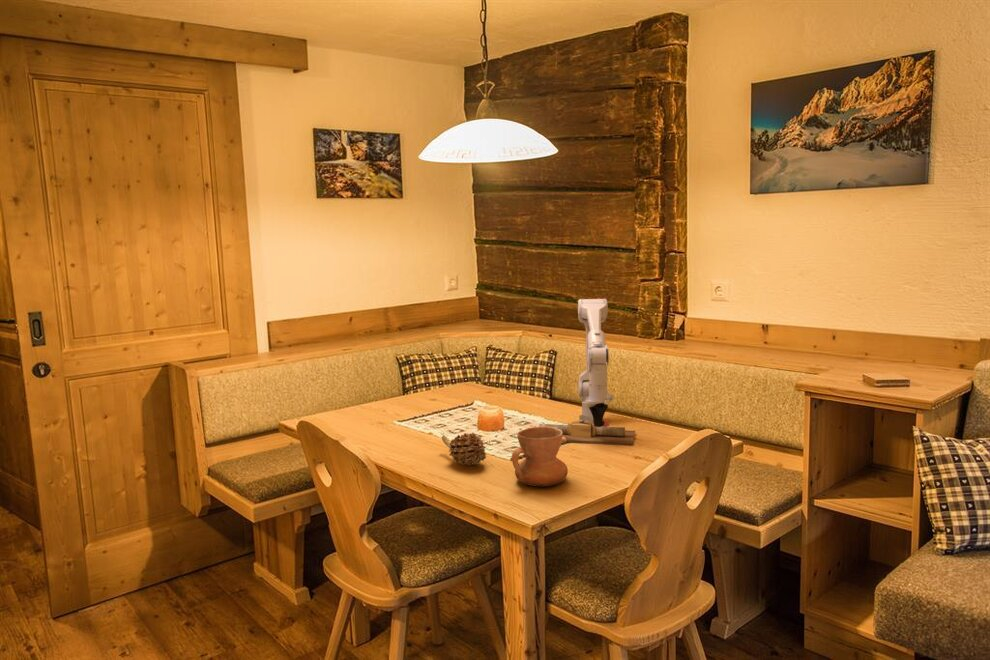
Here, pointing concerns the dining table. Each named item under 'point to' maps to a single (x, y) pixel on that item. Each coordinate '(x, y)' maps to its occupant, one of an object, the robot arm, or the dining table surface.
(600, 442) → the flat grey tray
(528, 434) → the ceramic jug
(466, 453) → the pine cone
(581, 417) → the valve lever
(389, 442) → the dining table surface
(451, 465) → the dining table surface
